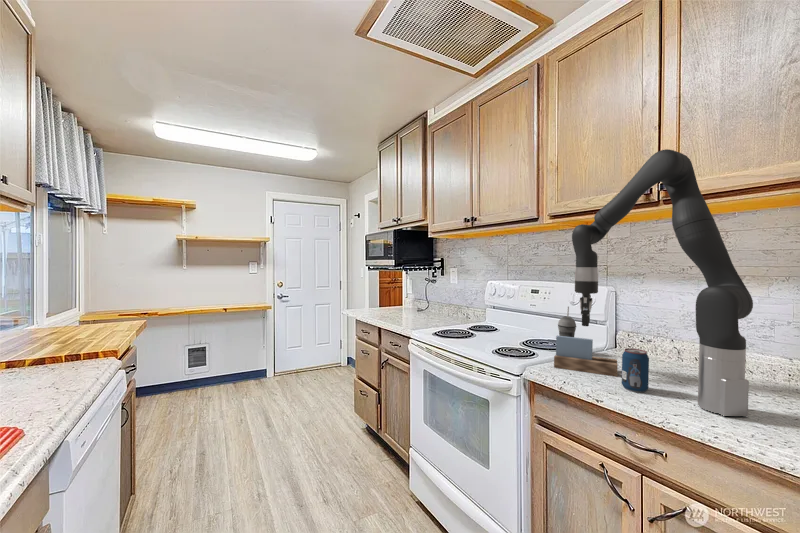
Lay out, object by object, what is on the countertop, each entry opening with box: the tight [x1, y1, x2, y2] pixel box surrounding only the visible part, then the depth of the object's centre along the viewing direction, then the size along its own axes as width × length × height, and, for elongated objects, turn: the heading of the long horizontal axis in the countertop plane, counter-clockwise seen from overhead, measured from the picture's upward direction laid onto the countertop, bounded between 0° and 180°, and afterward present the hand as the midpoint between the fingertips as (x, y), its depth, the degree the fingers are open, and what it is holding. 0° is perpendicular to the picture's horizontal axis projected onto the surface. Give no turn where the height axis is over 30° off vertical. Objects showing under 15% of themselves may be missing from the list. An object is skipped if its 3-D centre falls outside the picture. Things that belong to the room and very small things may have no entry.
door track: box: [553, 354, 619, 377], centre depth 130 cm, size 20×8×4 cm, turn 60°
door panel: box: [555, 335, 594, 360], centre depth 132 cm, size 12×2×10 cm, turn 60°
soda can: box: [621, 347, 650, 394], centre depth 110 cm, size 7×7×12 cm
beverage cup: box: [557, 306, 577, 337], centre depth 153 cm, size 7×7×20 cm
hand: (585, 324), depth 130 cm, fingers open, 8 cm apart
